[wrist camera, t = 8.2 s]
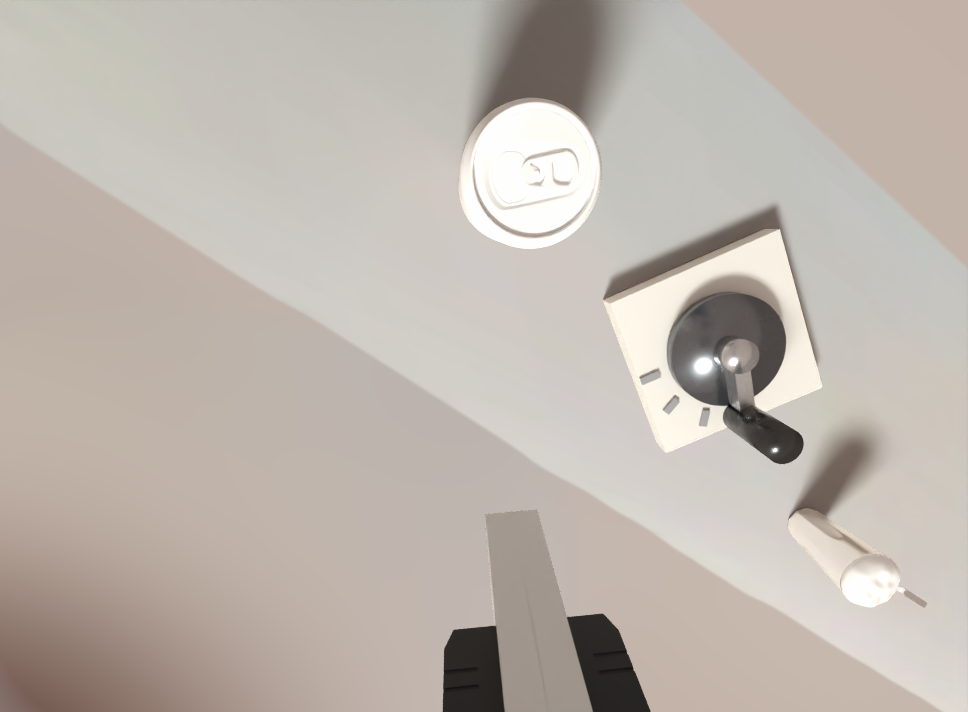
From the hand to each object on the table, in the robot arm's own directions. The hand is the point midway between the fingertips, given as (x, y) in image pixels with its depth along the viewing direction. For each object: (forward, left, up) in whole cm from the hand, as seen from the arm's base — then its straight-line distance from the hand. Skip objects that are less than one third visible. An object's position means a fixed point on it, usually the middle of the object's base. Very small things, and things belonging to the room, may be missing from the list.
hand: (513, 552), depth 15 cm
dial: (+9, +18, -26) cm, 33 cm away
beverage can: (-10, +7, -28) cm, 31 cm away
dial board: (+8, +18, -28) cm, 34 cm away
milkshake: (+29, +21, -28) cm, 46 cm away
